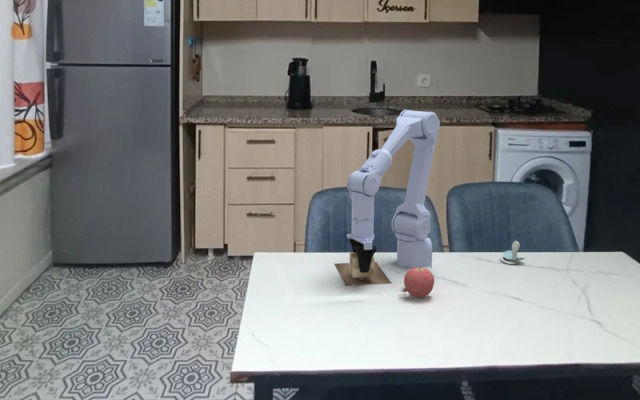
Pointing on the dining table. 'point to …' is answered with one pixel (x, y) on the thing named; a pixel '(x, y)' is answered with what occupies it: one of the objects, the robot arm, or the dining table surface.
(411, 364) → the dining table surface
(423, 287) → the apple
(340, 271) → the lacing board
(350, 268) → the open-ended tan box
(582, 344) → the dining table surface
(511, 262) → the pacifier
